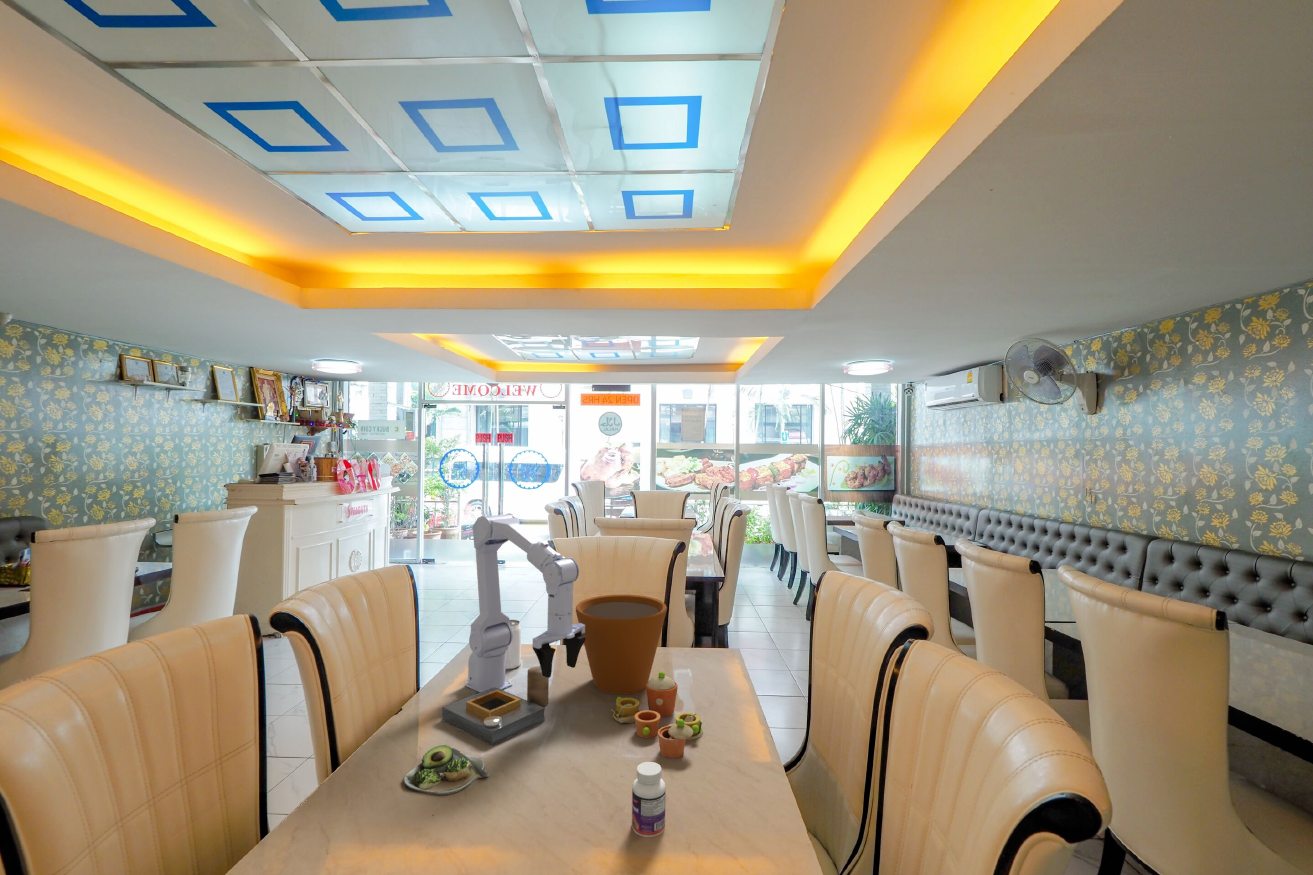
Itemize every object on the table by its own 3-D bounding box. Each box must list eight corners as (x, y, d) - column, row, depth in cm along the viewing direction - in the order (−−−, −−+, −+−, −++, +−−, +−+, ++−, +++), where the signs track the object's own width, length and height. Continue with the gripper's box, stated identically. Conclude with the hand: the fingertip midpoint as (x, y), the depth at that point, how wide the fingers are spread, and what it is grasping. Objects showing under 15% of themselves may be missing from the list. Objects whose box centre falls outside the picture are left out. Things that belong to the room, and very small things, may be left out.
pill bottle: (631, 818, 96) (631, 759, 96) (663, 817, 96) (664, 758, 96) (632, 840, 90) (633, 778, 91) (666, 839, 91) (667, 776, 91)
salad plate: (506, 765, 112) (506, 747, 112) (462, 806, 99) (462, 785, 99) (442, 752, 117) (442, 735, 117) (392, 790, 104) (393, 770, 104)
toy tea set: (604, 714, 134) (605, 672, 134) (661, 700, 142) (662, 660, 142) (664, 769, 111) (664, 718, 111) (727, 748, 119) (728, 701, 119)
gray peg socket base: (442, 720, 129) (442, 699, 129) (494, 699, 140) (494, 680, 141) (491, 746, 118) (492, 724, 118) (544, 721, 129) (544, 700, 130)
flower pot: (556, 680, 152) (558, 604, 153) (626, 659, 168) (627, 590, 169) (612, 711, 135) (613, 625, 135) (684, 684, 151) (685, 607, 151)
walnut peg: (522, 704, 138) (523, 670, 138) (538, 697, 142) (539, 664, 142) (536, 710, 135) (537, 675, 135) (552, 703, 139) (553, 669, 139)
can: (523, 661, 165) (524, 619, 165) (516, 670, 159) (516, 626, 159) (501, 660, 166) (502, 618, 166) (493, 669, 159) (494, 625, 160)
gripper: (548, 622, 125) (546, 685, 125) (594, 608, 136) (593, 666, 136) (526, 616, 129) (525, 677, 129) (573, 603, 141) (572, 659, 141)
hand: (559, 671), depth 133 cm, fingers open, 7 cm apart
